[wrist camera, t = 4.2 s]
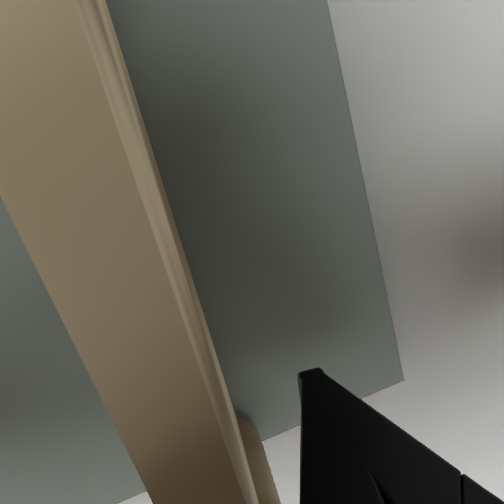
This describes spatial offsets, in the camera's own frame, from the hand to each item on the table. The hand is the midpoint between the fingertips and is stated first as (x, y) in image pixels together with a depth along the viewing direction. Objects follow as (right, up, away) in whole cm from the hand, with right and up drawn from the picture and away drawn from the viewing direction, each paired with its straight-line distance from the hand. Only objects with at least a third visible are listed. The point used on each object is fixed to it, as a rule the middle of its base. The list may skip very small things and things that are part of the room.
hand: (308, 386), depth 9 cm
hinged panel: (-3, +2, +2) cm, 4 cm away
